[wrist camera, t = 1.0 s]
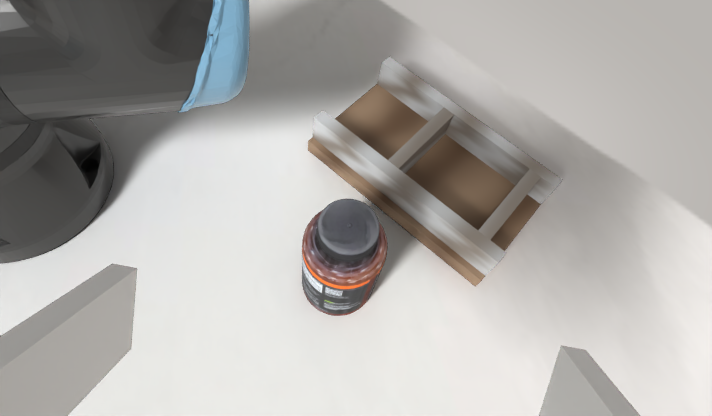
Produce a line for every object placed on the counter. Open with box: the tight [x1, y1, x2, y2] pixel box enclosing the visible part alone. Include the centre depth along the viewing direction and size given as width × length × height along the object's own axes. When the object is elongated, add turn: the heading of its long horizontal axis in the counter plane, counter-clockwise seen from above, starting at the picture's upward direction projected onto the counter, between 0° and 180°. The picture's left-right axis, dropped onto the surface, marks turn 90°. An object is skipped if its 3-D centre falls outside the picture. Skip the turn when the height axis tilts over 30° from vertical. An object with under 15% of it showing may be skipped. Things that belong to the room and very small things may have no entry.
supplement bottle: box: [302, 199, 387, 316], centre depth 35 cm, size 6×6×11 cm
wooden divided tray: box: [308, 56, 562, 286], centre depth 44 cm, size 20×12×4 cm, turn 49°
